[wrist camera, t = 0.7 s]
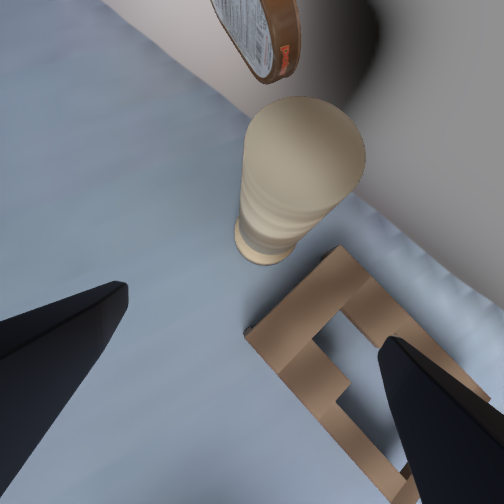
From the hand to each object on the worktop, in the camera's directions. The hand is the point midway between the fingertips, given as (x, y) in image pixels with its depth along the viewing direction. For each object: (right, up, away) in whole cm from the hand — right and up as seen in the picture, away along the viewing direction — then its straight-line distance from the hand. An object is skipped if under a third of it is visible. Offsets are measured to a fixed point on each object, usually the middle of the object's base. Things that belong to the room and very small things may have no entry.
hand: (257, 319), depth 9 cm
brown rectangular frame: (+8, -7, +13) cm, 17 cm away
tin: (-1, +25, +19) cm, 31 cm away
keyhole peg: (+1, +4, +15) cm, 15 cm away
